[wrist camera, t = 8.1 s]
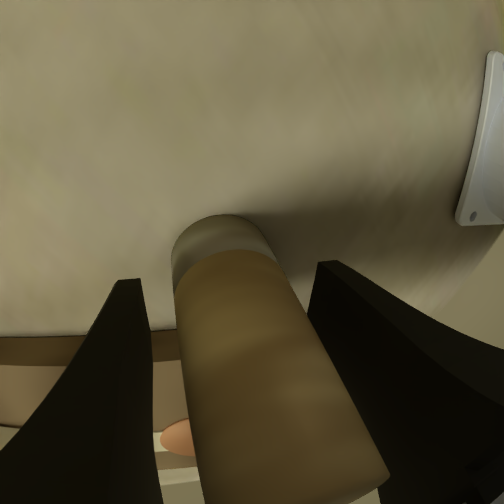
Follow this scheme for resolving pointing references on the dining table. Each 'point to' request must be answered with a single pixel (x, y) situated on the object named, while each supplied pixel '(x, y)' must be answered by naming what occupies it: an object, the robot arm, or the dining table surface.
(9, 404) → the board
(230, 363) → the brown upright cylinder
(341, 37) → the dining table surface
